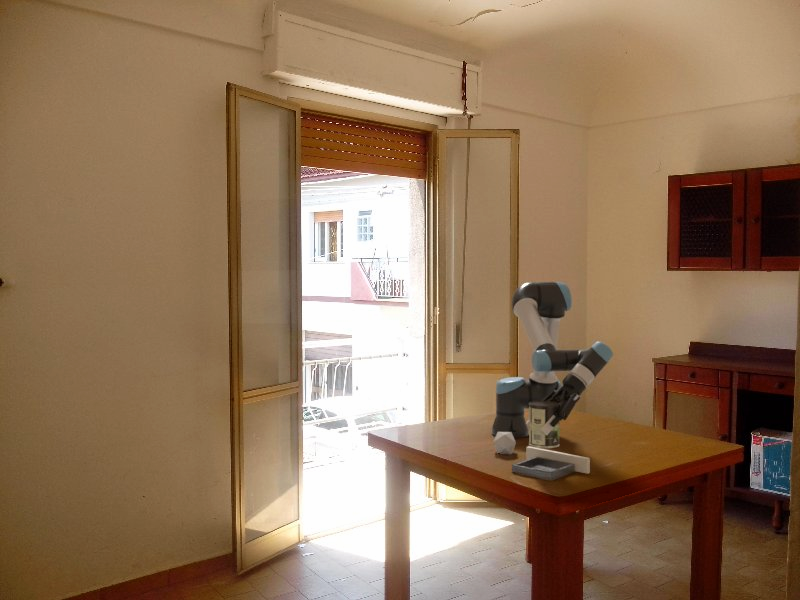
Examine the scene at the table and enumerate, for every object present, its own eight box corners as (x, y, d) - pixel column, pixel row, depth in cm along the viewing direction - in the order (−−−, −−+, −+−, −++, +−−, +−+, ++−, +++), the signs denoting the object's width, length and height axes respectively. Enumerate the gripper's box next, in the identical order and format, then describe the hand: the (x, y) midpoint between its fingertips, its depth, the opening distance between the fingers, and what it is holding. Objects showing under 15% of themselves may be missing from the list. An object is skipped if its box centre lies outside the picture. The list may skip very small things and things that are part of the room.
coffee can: (559, 442, 243) (559, 401, 242) (560, 449, 233) (560, 406, 232) (528, 440, 245) (528, 400, 244) (528, 447, 235) (528, 405, 234)
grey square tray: (512, 472, 239) (512, 464, 239) (536, 463, 250) (536, 456, 250) (550, 481, 229) (551, 473, 229) (574, 471, 240) (574, 464, 240)
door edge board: (526, 460, 254) (526, 447, 253) (528, 460, 255) (528, 446, 255) (587, 473, 237) (587, 458, 237) (589, 472, 238) (589, 458, 238)
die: (507, 459, 258) (521, 437, 260) (487, 446, 261) (501, 424, 263) (507, 461, 266) (521, 440, 268) (487, 448, 269) (501, 427, 270)
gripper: (603, 392, 232) (560, 444, 228) (567, 383, 253) (527, 429, 249) (588, 377, 230) (545, 428, 226) (554, 368, 252) (513, 415, 248)
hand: (536, 429), depth 238 cm, fingers closed on coffee can, 10 cm apart
